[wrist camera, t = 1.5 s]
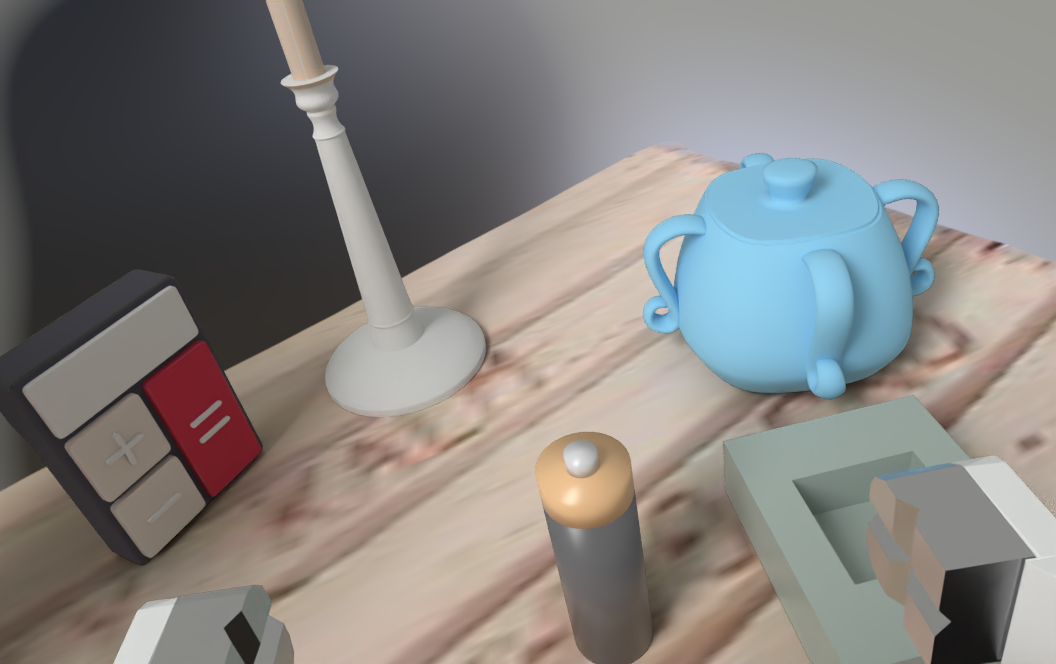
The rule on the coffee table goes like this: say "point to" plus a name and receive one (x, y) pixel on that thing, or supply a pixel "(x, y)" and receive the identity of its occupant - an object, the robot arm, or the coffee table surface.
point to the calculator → (130, 412)
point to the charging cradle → (832, 521)
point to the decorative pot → (793, 275)
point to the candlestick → (373, 266)
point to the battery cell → (597, 544)
